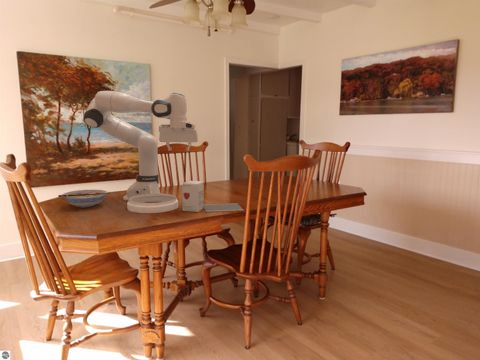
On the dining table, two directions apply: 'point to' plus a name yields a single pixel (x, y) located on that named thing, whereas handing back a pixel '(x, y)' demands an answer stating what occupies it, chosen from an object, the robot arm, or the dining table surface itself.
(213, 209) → the grey flat slab
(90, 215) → the dining table surface
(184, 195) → the supplement box
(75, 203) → the ramen bowl
